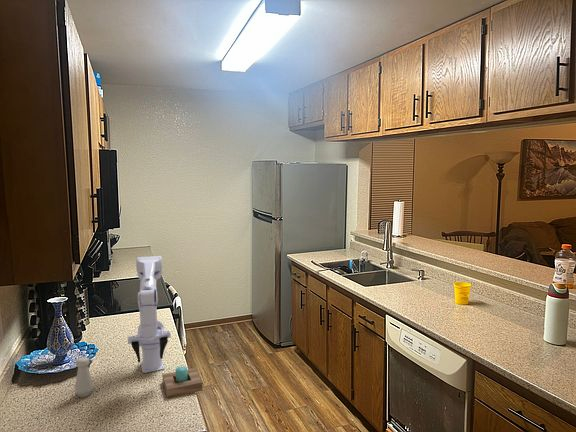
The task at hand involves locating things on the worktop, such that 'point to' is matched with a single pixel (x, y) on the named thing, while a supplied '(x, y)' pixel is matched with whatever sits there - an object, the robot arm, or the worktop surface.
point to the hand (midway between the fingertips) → (150, 359)
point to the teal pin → (181, 374)
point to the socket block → (182, 383)
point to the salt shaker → (83, 378)
